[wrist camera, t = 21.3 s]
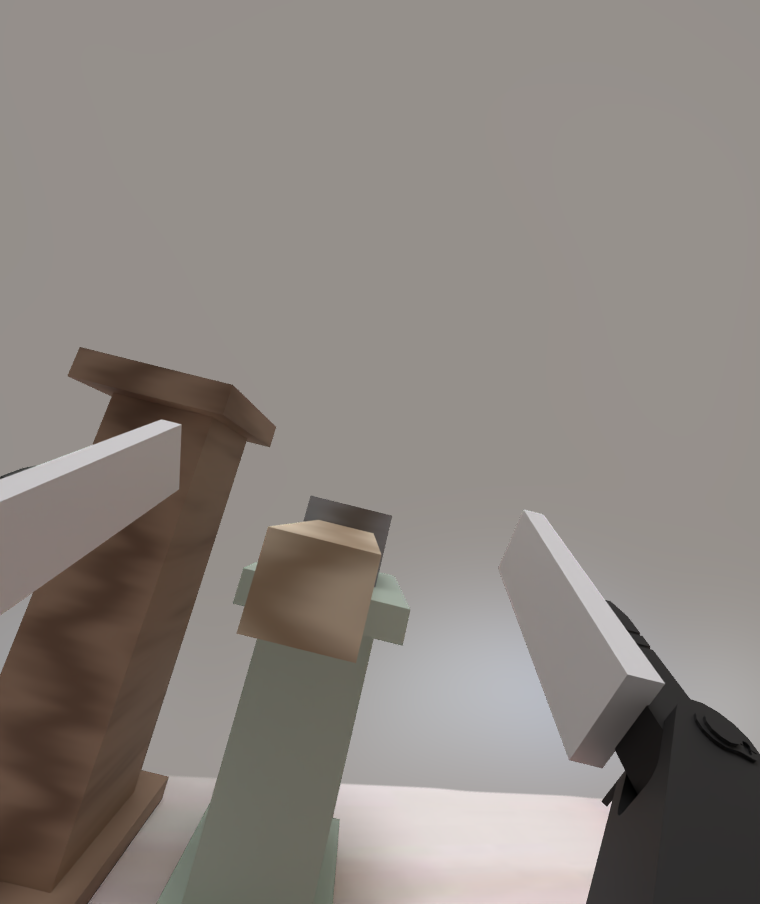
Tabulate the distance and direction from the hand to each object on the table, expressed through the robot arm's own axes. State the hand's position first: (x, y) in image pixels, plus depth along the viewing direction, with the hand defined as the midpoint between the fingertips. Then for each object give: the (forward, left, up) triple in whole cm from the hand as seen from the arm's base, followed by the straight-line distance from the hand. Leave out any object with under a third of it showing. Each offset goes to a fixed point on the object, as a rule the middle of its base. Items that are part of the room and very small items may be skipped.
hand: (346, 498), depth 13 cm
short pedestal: (0, +14, -26) cm, 29 cm away
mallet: (0, +9, -5) cm, 10 cm away
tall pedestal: (-14, +14, -26) cm, 32 cm away
